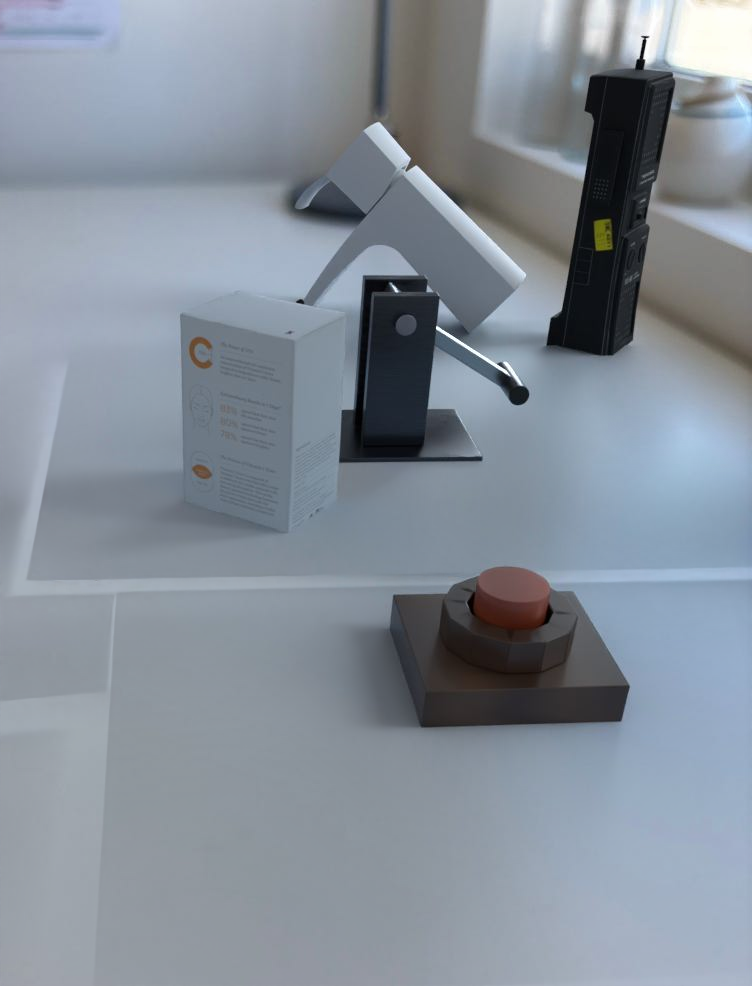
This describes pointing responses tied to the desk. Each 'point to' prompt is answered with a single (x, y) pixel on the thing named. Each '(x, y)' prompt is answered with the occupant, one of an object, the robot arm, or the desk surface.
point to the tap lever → (480, 363)
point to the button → (511, 598)
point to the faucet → (414, 230)
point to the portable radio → (614, 208)
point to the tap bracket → (399, 381)
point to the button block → (504, 664)
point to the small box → (262, 407)
